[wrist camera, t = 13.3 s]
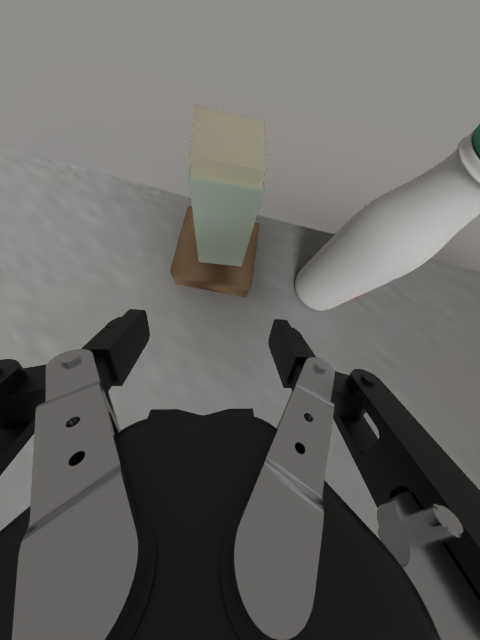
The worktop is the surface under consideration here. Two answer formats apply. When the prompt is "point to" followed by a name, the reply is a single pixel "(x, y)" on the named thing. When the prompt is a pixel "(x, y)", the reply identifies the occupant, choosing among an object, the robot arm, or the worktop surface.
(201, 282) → the walnut box
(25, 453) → the worktop surface
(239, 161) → the tea tin
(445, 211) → the milk bottle
